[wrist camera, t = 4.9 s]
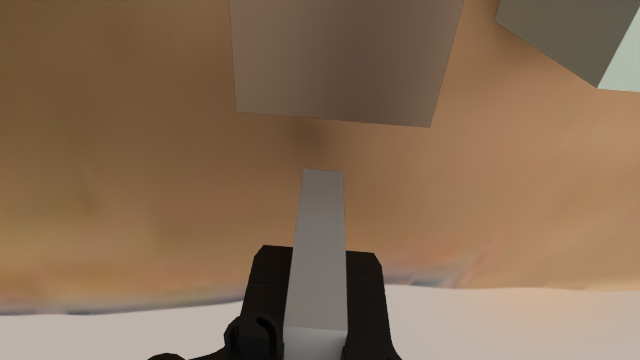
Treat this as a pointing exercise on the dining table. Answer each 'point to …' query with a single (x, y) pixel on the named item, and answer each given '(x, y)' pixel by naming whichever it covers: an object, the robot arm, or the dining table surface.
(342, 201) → the robot arm
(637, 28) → the sage pillar
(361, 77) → the walnut pillar
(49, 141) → the dining table surface
